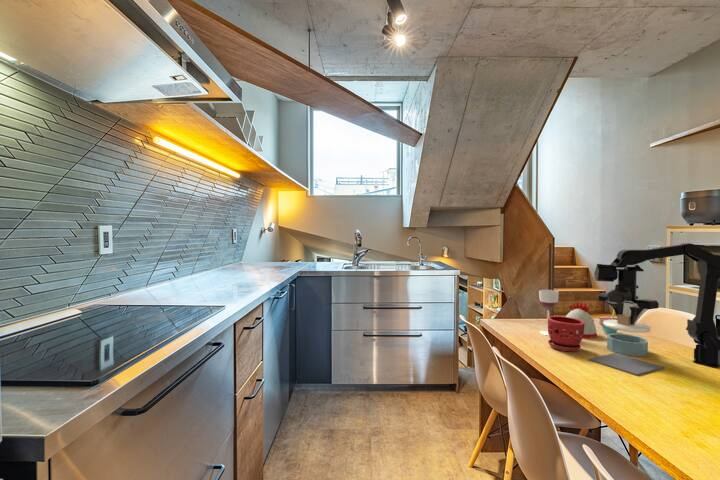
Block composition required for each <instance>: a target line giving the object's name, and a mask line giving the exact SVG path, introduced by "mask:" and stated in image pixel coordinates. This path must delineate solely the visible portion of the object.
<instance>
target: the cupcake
mask: <svg viewBox="0 0 720 480" xmlns="http://www.w3.org/2000/svg"><path fill="white" fill-rule="evenodd" d="M612 311H613V312H612V316H611V317H603V318H600V320H599V321H598V324H599V326H601V327H602V330H603V333H606V334H617V331H618V330H615V329H611V328H608V327H605V326H604V325H603V321H604V320H617V319H616V318H614V317H615V315H616V313H615V311H614V309H612Z"/></svg>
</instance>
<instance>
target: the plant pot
mask: <svg viewBox="0 0 720 480" xmlns="http://www.w3.org/2000/svg"><path fill="white" fill-rule="evenodd" d="M547 319H548V334H549V335H548V336H549V340H548V341H547V343H548V345H549V346H550V347H551V348H553V349H556V350H560V351H562V352H563V351H565V352H577V351H579V350H580V349H581V348H582V347H581V344H580V343H581V342H582V340H583V339H584V338H583V334H584V326H585V323H584V322H583V321H581V320H578V319H574V318H569V317H566V316H560V315H559V316H558V315H551V316H550V315H549V317H548V316H547ZM563 330H565V331H563ZM576 331H578V333H576Z"/></svg>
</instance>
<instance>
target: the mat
mask: <svg viewBox="0 0 720 480" xmlns="http://www.w3.org/2000/svg"><path fill="white" fill-rule="evenodd" d="M588 361H590V362H594V363H597V364H600V365H603V366H605V367H608V368H612V369H615V370H618V371H621V372H624V373H626V374H629V375H633V376H636V377H637V376H641V375H645V374H650V373H653V372H657V371H660V370H664V369H665V366H662V365H660V364H656V363H654V362H653V363H652V362H648V361H646V360H642V359H638V358H634V357H633V356H632V357H631V356H629V355H624V354H620V353H616V352H613V353H609V354H603V355H599V356H594V357H590V358H588Z"/></svg>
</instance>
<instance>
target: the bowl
mask: <svg viewBox="0 0 720 480" xmlns="http://www.w3.org/2000/svg"><path fill="white" fill-rule="evenodd" d="M606 334H607V335H606V349H607V350H609V351H611V352H613V353H618V354H621V355H624V354H625V356H631V355H632V357H644V356H648V354H649V344H648V343H649V342H648V339H646V338H644V337H642V336H636V335H633V334H627V333H626V334H625V333H616V334H608V333H606Z"/></svg>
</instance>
